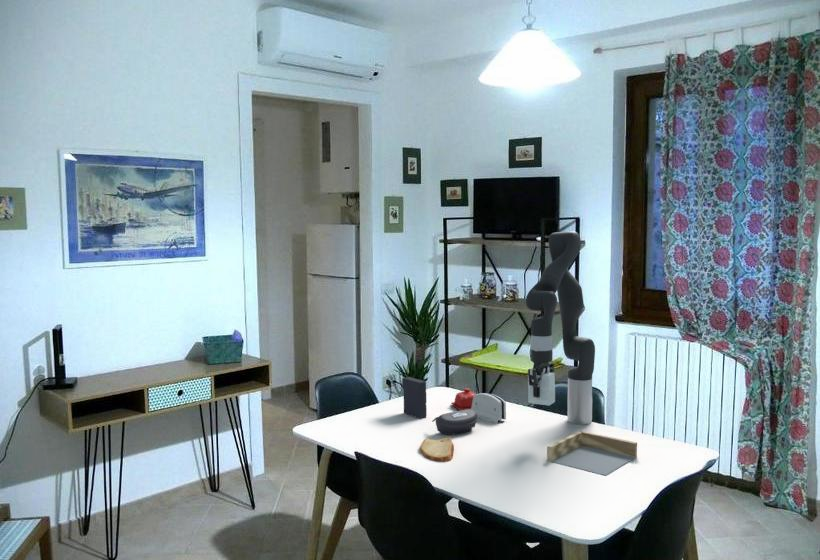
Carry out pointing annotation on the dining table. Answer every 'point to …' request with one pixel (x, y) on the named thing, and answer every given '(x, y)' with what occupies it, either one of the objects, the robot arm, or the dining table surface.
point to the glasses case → (456, 422)
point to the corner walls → (591, 445)
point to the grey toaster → (489, 407)
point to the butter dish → (464, 399)
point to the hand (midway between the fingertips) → (541, 395)
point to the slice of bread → (438, 449)
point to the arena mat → (593, 460)
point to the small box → (543, 390)
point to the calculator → (414, 397)
